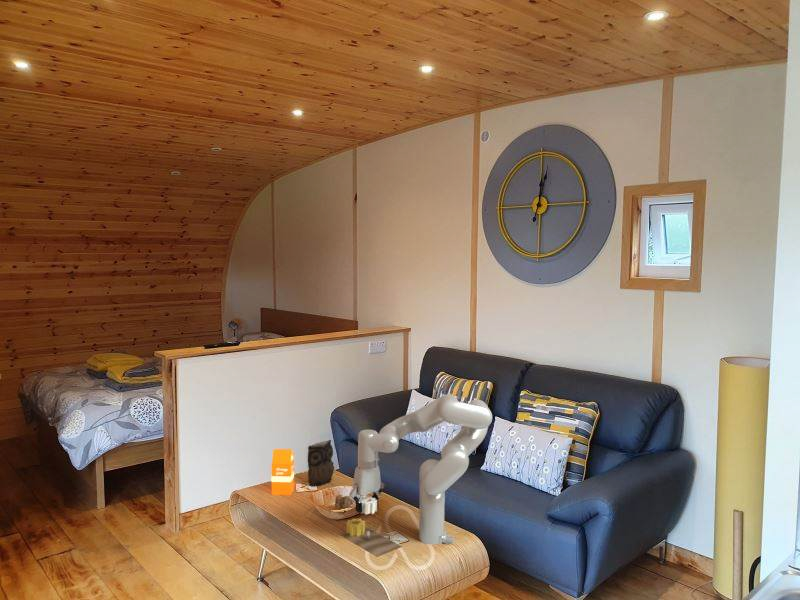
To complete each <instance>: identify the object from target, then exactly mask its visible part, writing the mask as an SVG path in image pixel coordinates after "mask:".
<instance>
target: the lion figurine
mask: <svg viewBox="0 0 800 600" xmlns="http://www.w3.org/2000/svg"><path fill="white" fill-rule="evenodd" d="M334 501H335V503H334V504H335V506H337V507H339V510H340V509H345V508H348V509H349V507H352V506H353V505H354V503H355V501H354V499H352V497H351V496H350V495H346V496H343V495H342V494H337V495H336V496H335V499H334ZM335 506H334V507H335Z"/></svg>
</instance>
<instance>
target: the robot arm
mask: <svg viewBox="0 0 800 600" xmlns="http://www.w3.org/2000/svg"><path fill="white" fill-rule="evenodd" d="M492 421H493V414H492V411H491V410H490V408H489V407H488V405H487V404H486V402H485V401H484V400H481V399H477V398H475V399H473V400H471V401H469V403H465V402H462V401H459V400H458V399H457V397H456V396H455V395H453V394H450V393H447V394H443V395H441V396H440V397H438V398H436V399H434V400H433V401H431V402H429V403H428V404H426V405H424V406H422V407H420V408H418V409H417V410H415V411H412V412H410V413H407V414H405V415H403V416H400V417H398V418H396V419H394V420H392V421H391V422H390V423H387V424H386V425H385V426H383V427H382V428H381V429H380V430H379V432H377V431H376V430H375V429H363V430H360V431H359V432H358V435H357V437H358V438H357V439H358V440H357V442H358V445H357V466H356V467H355V470H354V475H353V484H352V486H353V487H352V490H351V491H350V492H349V495H348V496H350V498H351V499H352V500H354V502H355V511H356V512H358V513H359V514H363V513H362V502H361V501H362V498H363V497H365V496H366V495H367V496H368V495H370V494H372V495H371V498H376V500H377V509H379V498H380V497H381V493H382V492H383V490H384V487H385V485H386V484H385V483H384V482H382V480H381V472H380V471H381V470H380V466H379V461H380V457H379V453H385V454H391V453H394V452H396V451H397V450H398V448H399V444H400V443H399V440H401V439H402V438H404V437H407V436H408V435H410V434H412V433H417V432H419V433H425V432H428V431H430V430H432V429H433V428H436V427H438V425H440V424H442V423H444V422H445V423H448V424H451V425H455V426H460V427H463V428H462V429H460V431H459V432H458V433H457V434H456V435H455V436H453V438H452V439H450V440H449V441H448V442H447V443H446V444H445V445H444V446H443V447H442V449H441V450H440V456H441V459H440V460H437V459H433V458H432V459H427V460H424V461H423V463H422V464H421V465H420V468H419V470H418V471H419V473H418V474H419V476H418V479H419V480H418V481H419V509H418V510H419V511H418V512H419V515H418V516H419V521H418V523H419V525H418V526H419V527H418V528H419V529H418V539H419V541H420V542H421V543H423V544H426V545H430V546H431V545H432V546H433V545H443V544H446V545H448V544H452V545H454V544H455V538H454V535H451V534H447V529H445V502H446V501H445V499H446V494H445V493H446V490H448V489H449V488H450V487H451V486H452V485H453V484H455V482H457V480H459V479H460V478H461V477H462V476H463V475H464V473H466V471H467V470H468V467H469V464H470V458H469V456H471V454H472V453H473V452H474V451H475V450H476V449H477V448H478V447H479V445H480V444H481V443H483V441H484V439H485V437H486V436H487V434H488V429H489V426H490V425H491V424H492Z"/></svg>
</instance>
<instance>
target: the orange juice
mask: <svg viewBox="0 0 800 600" xmlns="http://www.w3.org/2000/svg"><path fill="white" fill-rule="evenodd" d="M294 489H295V458H294V452H293V449H292V448H291V449H290V448H288V449H286V448H273V451H272V459H271V495H272V496H275V495H276V496H277V495H278V496H280V495H281V496H291V495H292V493H293V491H294Z"/></svg>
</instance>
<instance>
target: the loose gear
mask: <svg viewBox="0 0 800 600" xmlns="http://www.w3.org/2000/svg"><path fill="white" fill-rule="evenodd" d="M361 502H362V513H361V514H365V515H367V516H368V515H369V514H372V515H374V514H375V512H378V508H377V500H376V498H372V496H368V495H367V496H366V497H365V496H363V498H362V501H361Z"/></svg>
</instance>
